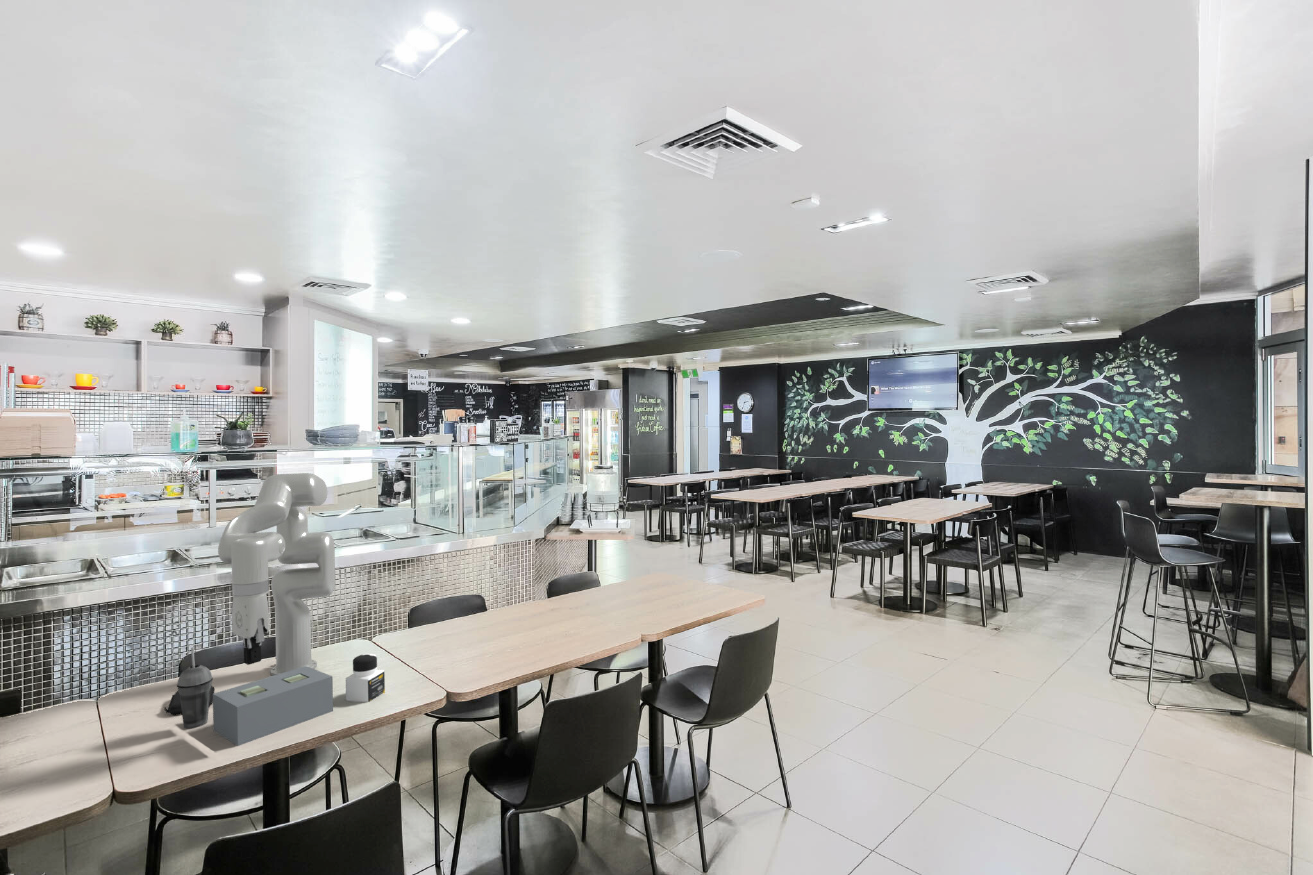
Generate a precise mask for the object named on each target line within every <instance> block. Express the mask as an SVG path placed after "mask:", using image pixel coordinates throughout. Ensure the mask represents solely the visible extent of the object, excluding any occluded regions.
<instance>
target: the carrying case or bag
mask: <svg viewBox="0 0 1313 875" xmlns="http://www.w3.org/2000/svg"><path fill="white" fill-rule="evenodd" d="M215 690H216V689H215V686H213V685H212V684H211V688H210V699H209V708H210V707H211V706H213V694H214V693H215ZM163 712H165V713H166V714H170V715H171V716H180V715H182V709H181V701H180V694H179V692H178V690H177V691H176V692H175V693H174V694H172V695H171V699H170V701H169V704H168V707H167V706H164V707H163Z"/></svg>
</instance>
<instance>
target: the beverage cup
mask: <svg viewBox="0 0 1313 875" xmlns="http://www.w3.org/2000/svg"><path fill="white" fill-rule="evenodd" d="M194 650H195V649H194V646H193V647H191V648H190V651H191V666H189V667H186V668H185V669H184V670H183V671H182V672H181V673H180V675H179V677H178V678H177V684H176V688H177V691H178V692H179V694H180V701H181V709H182V714H181V715H182V723H183V728H184V729H187V730H188V729H196V728H200V727H202V726H204V725H206V724H207V723H208V720H209V710H210V707H209V699H210V688H211V685H212V684H213V680H214V679H213V674H212V672H211V670H210V669H209V668H208V667H207V666H205V665H202V664H195V651H194Z"/></svg>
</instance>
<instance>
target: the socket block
mask: <svg viewBox="0 0 1313 875" xmlns="http://www.w3.org/2000/svg"><path fill="white" fill-rule="evenodd" d="M299 674H300V675H302V676H305V677H307V678H306V679H303V680H299V681H296V682H293V683H287V682H285V681H283V679H286V678H289V677H292V676H296V675H299ZM333 680H334V679H333V676H332V675H330V674H328V673H325V672H323V671H320V670H317V669H316V668H315V669H312V668H310V667H307V666H304V667H301V668H298V669H294V670H291V671H287V672H284V673H281V674H277V675H274V676H272V675H271V676H268V677H264V678H261V679H258V680H254V681H250V682H247V683H245V684H244V683H243V684H242V685H241V684H240V685H237V686H234V687H231V688H227V689H224V690H221V691H217V692H214V694H213V703H212V718H213V719H212V724H213V726H212V727H213V728H212V730H213V732H215V733H216V734H218V735H219V736H221V737H223V738H224V739H226V740H228V741H229V742H230V743H232V744H233V745H236V746H237V747H240V746H242V745H245V744H247V743H251V742H253V741H256V740H258V739H261V738H263V737H267V736H269V735H271V734H275V733H278V732H280V731H282V730H286V729H288V728H291V727H293V726H297V725H299V724H302V723H304V722H307V721H311V720H313V719H315V718H318V717H321V716H323V715H326V714H328V713H331V712H334V694H333V693H334V690H333V689H334V688H333V687H334V686H333V684H334V683H333V682H334V681H333ZM255 686H260V687H262V688H264V689H265V691H264V692H261V693H258V694H255V695H252V696H248V697H244V696H242V695H240V691H242V690H245V689H248V688H252V687H255Z"/></svg>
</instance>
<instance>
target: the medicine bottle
mask: <svg viewBox="0 0 1313 875" xmlns="http://www.w3.org/2000/svg"><path fill="white" fill-rule="evenodd" d="M385 676H386V675H385V669H378V657H377V655H376V654H375V653H374V654H373V653H363V654H359V655H357V656H356V657H354V658H353V659H352V674H350V675H349V676H347V677H346V678H345V701H348V702H360V703H370V702H372V701H373V700H375V699H376V698H378V697H380V696H381V695H382V694H385V693H386V687H385V686H386V685H385V682H386V681H385Z"/></svg>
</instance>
